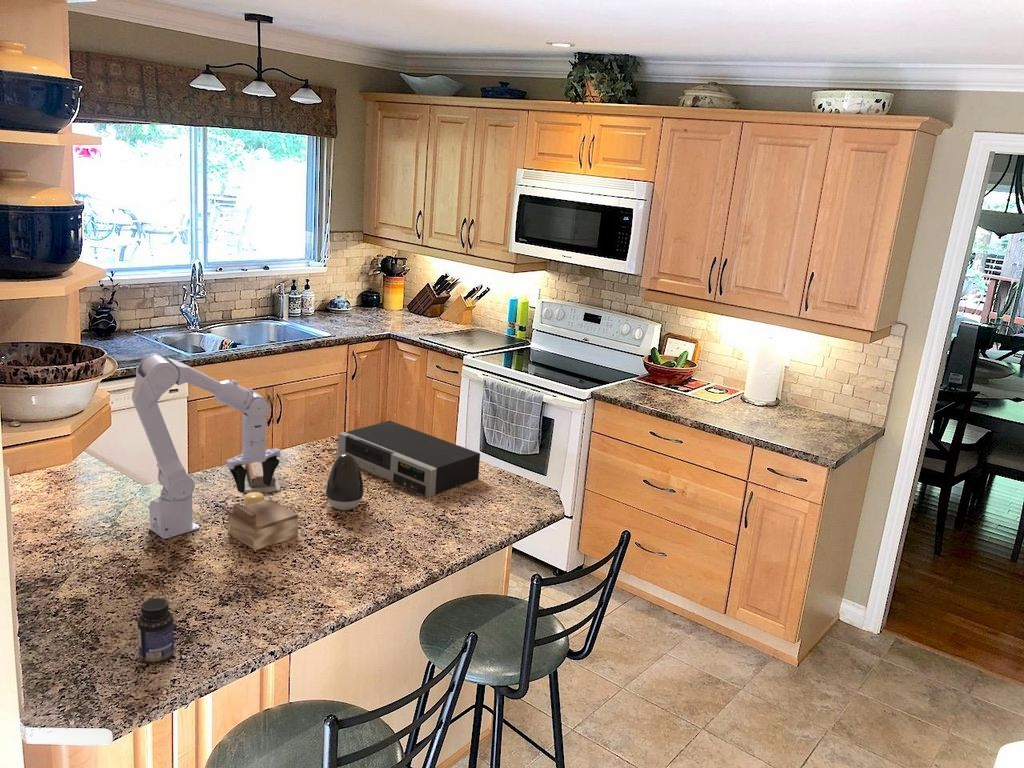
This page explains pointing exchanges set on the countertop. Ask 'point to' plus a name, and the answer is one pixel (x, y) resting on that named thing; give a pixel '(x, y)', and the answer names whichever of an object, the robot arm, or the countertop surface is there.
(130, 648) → the countertop surface
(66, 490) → the countertop surface
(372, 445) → the vcr player
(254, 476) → the packaged product
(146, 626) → the pill bottle
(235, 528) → the wooden box
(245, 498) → the cream bullet-shaped knob
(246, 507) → the lid
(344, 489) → the black egg-shaped device
